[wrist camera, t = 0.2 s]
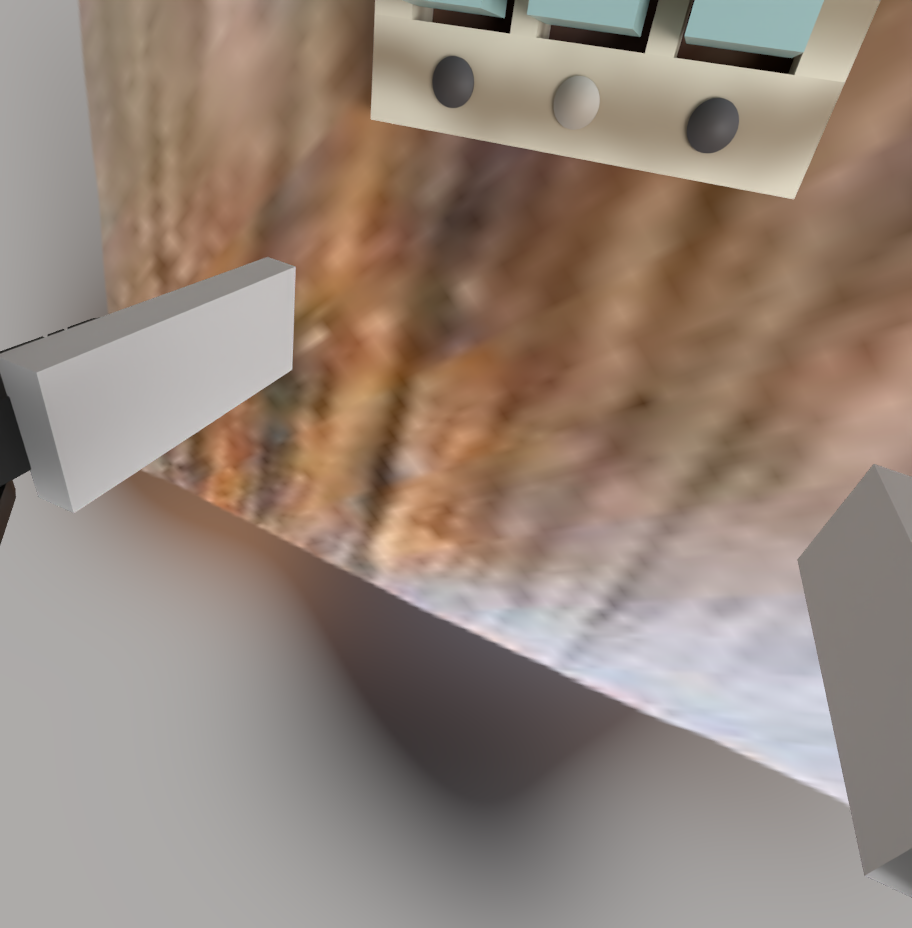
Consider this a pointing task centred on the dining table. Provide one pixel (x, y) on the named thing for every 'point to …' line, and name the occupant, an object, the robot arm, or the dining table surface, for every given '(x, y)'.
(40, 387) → the robot arm
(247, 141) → the dining table surface
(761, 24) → the button
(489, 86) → the board
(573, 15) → the button
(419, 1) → the button
